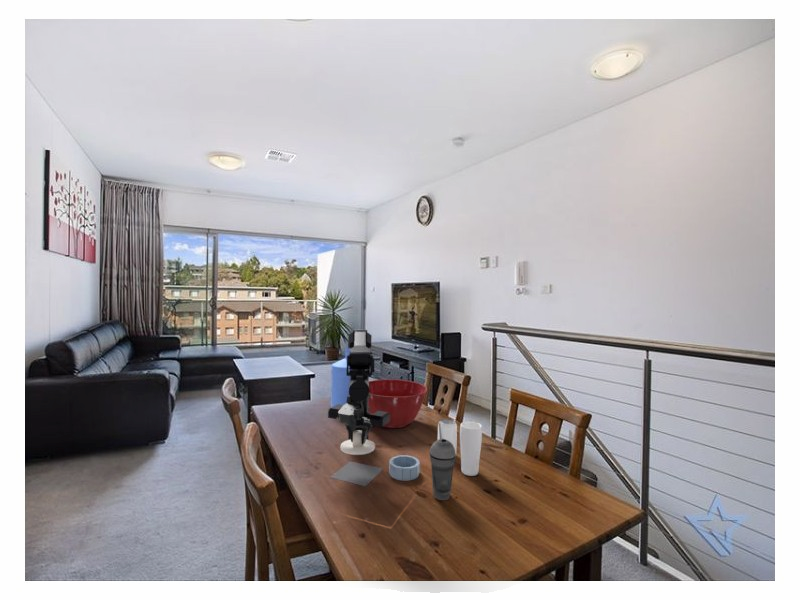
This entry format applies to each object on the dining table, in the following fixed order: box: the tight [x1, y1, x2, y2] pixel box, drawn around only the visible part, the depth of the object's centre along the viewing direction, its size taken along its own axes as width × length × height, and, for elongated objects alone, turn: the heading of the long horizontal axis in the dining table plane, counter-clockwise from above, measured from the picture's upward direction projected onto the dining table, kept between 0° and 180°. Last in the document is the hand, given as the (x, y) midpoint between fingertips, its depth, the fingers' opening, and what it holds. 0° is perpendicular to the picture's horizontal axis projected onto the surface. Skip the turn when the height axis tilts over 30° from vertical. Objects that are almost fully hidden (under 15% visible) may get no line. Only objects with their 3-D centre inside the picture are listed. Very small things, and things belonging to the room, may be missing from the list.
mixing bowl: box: [368, 378, 428, 429], centre depth 165 cm, size 28×28×15 cm
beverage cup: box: [429, 422, 457, 501], centre depth 107 cm, size 7×7×20 cm
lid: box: [340, 430, 376, 456], centre depth 118 cm, size 10×10×5 cm
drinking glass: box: [459, 421, 483, 477], centre depth 121 cm, size 7×7×15 cm
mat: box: [329, 460, 384, 487], centre depth 119 cm, size 12×12×1 cm
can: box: [437, 417, 458, 455], centre depth 133 cm, size 6×6×12 cm
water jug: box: [330, 348, 350, 408], centre depth 183 cm, size 16×16×28 cm
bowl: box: [388, 454, 421, 482], centre depth 119 cm, size 9×9×4 cm
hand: (357, 443), depth 118 cm, fingers closed on lid, 3 cm apart
